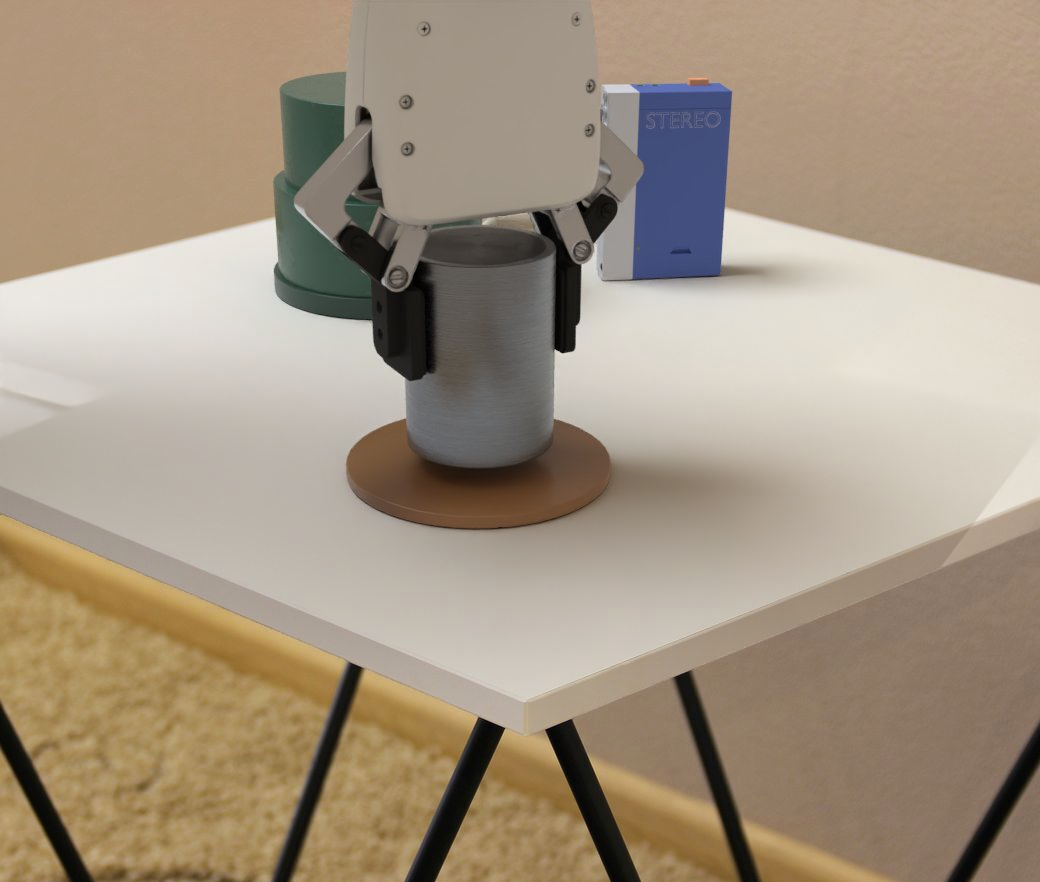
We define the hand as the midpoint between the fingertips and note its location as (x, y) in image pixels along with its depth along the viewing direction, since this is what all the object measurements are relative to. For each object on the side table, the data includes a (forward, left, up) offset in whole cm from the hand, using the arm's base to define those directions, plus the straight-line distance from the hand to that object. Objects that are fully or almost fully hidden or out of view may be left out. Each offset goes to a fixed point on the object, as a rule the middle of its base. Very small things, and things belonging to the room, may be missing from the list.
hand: (479, 353), depth 67 cm
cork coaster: (0, 0, -6) cm, 6 cm away
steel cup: (0, 0, -4) cm, 4 cm away
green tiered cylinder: (-20, +20, -6) cm, 29 cm away
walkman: (-7, +32, -6) cm, 33 cm away
